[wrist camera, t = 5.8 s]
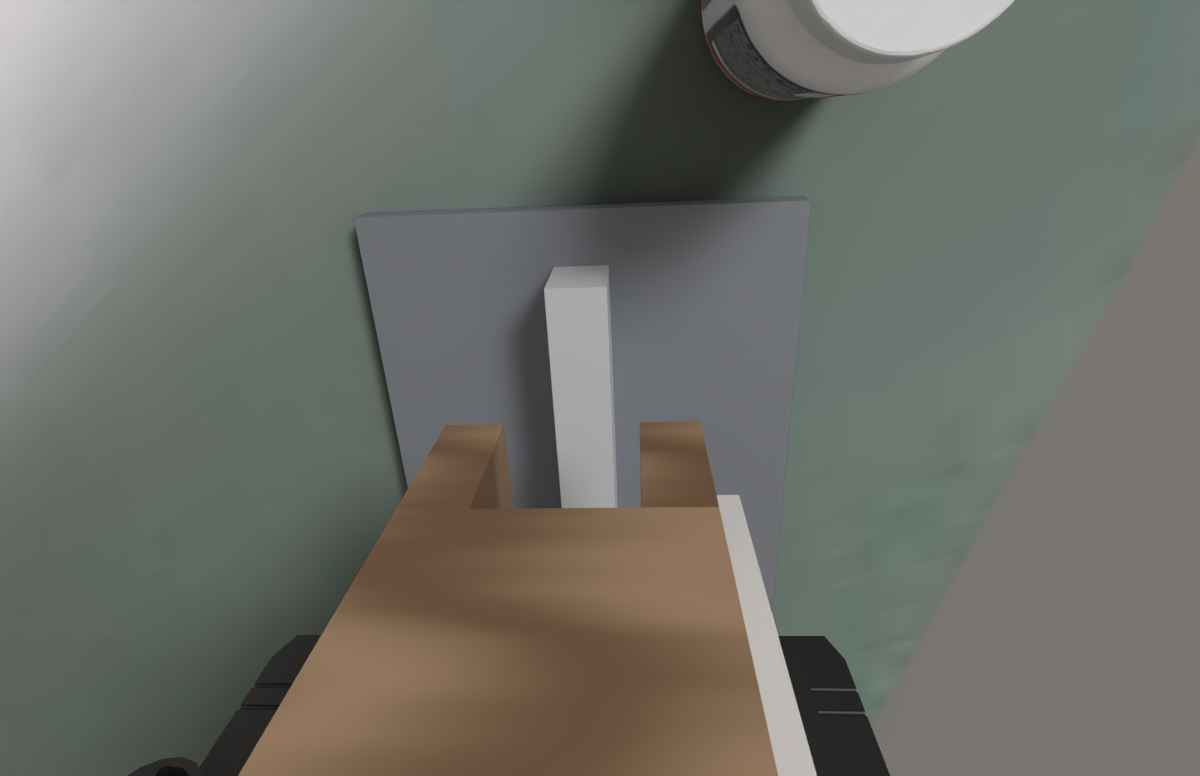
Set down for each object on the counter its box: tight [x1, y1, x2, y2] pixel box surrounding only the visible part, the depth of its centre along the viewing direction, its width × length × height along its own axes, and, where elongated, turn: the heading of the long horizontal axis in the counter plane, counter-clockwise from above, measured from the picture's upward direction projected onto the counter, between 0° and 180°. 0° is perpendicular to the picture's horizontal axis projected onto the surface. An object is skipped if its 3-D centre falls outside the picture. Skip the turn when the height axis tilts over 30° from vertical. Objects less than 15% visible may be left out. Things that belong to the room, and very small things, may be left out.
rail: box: [354, 197, 811, 612], centre depth 22 cm, size 16×22×11 cm
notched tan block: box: [238, 421, 778, 776], centre depth 11 cm, size 6×6×10 cm
